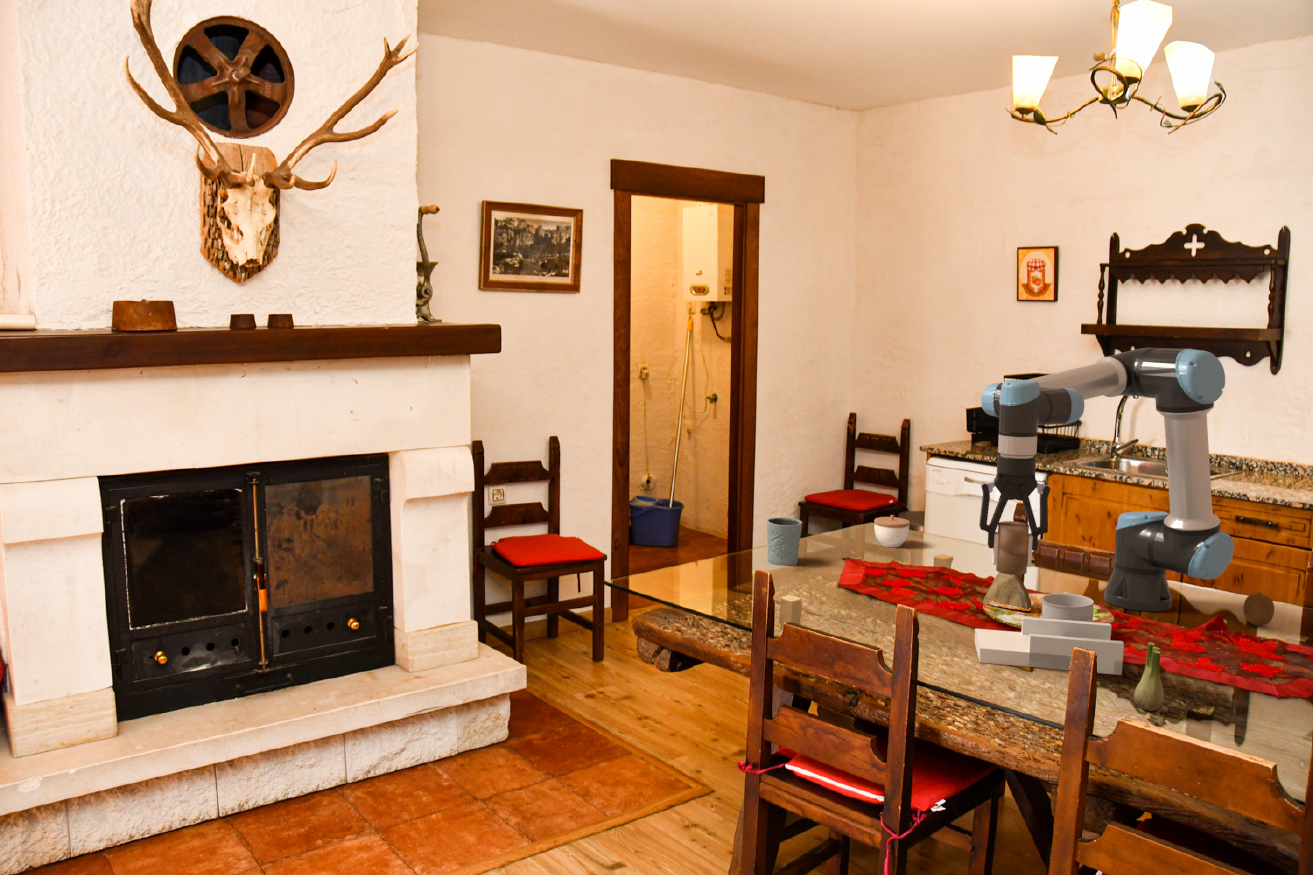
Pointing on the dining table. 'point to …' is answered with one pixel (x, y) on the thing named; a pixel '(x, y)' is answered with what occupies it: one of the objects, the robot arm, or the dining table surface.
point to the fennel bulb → (1150, 682)
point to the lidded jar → (891, 530)
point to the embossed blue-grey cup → (783, 540)
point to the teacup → (1067, 607)
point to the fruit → (1258, 609)
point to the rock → (1008, 591)
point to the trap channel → (1050, 644)
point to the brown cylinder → (1012, 547)
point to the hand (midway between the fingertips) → (1011, 564)
